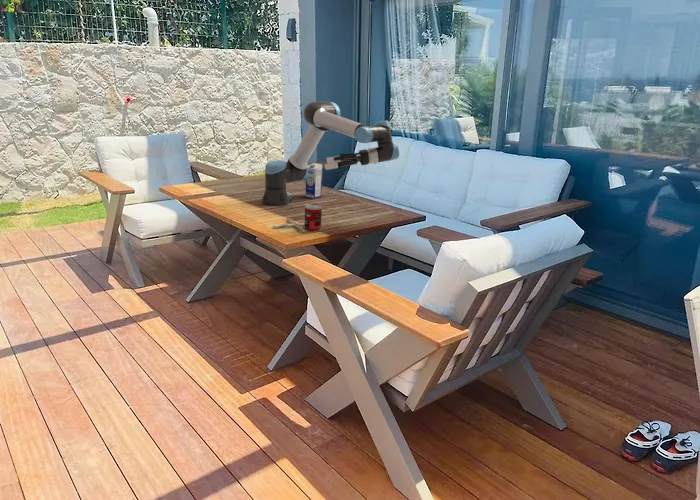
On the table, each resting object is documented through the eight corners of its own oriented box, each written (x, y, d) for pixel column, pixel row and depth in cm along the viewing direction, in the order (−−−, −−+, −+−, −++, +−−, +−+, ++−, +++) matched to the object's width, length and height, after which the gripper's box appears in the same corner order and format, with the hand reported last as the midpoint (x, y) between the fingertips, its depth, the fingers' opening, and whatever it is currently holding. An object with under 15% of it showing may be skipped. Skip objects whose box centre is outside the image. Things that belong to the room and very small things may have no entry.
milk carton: (321, 197, 329) (322, 164, 323) (314, 198, 324) (315, 165, 318) (312, 195, 333) (313, 162, 327) (305, 196, 328) (306, 163, 321)
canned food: (304, 226, 265) (304, 204, 261) (320, 226, 266) (321, 204, 262) (304, 230, 258) (304, 208, 254) (321, 231, 258) (322, 208, 255)
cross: (280, 234, 251) (280, 232, 251) (267, 222, 270) (267, 219, 270) (324, 231, 260) (324, 228, 259) (309, 219, 279) (309, 217, 278)
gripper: (373, 157, 256) (329, 165, 253) (365, 169, 280) (325, 176, 278) (370, 142, 256) (326, 150, 253) (363, 155, 281) (322, 162, 278)
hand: (325, 164), depth 265 cm, fingers open, 13 cm apart
